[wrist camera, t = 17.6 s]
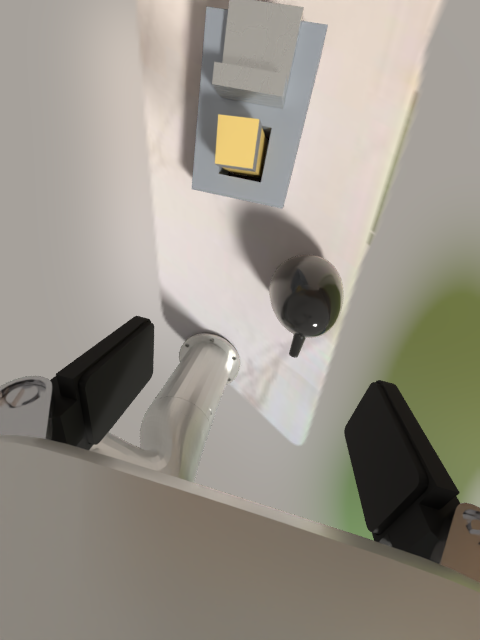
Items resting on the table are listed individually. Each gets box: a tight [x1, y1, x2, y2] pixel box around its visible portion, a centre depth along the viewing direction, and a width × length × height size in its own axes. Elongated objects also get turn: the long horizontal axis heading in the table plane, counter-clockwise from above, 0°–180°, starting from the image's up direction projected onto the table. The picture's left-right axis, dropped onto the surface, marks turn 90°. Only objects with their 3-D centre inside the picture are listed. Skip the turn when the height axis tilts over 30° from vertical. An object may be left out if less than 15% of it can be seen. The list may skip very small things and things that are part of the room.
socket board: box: [192, 6, 328, 208], centre depth 29 cm, size 16×12×5 cm
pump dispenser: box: [269, 255, 343, 357], centre depth 32 cm, size 10×10×15 cm
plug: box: [215, 114, 268, 178], centre depth 28 cm, size 4×4×10 cm
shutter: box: [212, 0, 304, 109], centre depth 23 cm, size 7×7×3 cm
